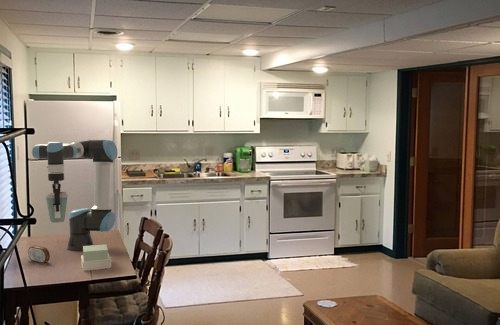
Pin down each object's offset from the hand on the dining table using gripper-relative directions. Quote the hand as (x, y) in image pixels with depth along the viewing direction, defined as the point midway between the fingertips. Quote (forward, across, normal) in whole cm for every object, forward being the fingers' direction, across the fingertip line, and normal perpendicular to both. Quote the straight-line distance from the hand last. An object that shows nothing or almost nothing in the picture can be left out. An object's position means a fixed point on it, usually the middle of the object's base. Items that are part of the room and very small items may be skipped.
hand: (57, 215), depth 261 cm
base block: (+28, 0, +18) cm, 34 cm away
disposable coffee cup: (+3, 0, 0) cm, 3 cm away
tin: (+28, -20, -10) cm, 36 cm away
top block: (+23, 0, +18) cm, 29 cm away
